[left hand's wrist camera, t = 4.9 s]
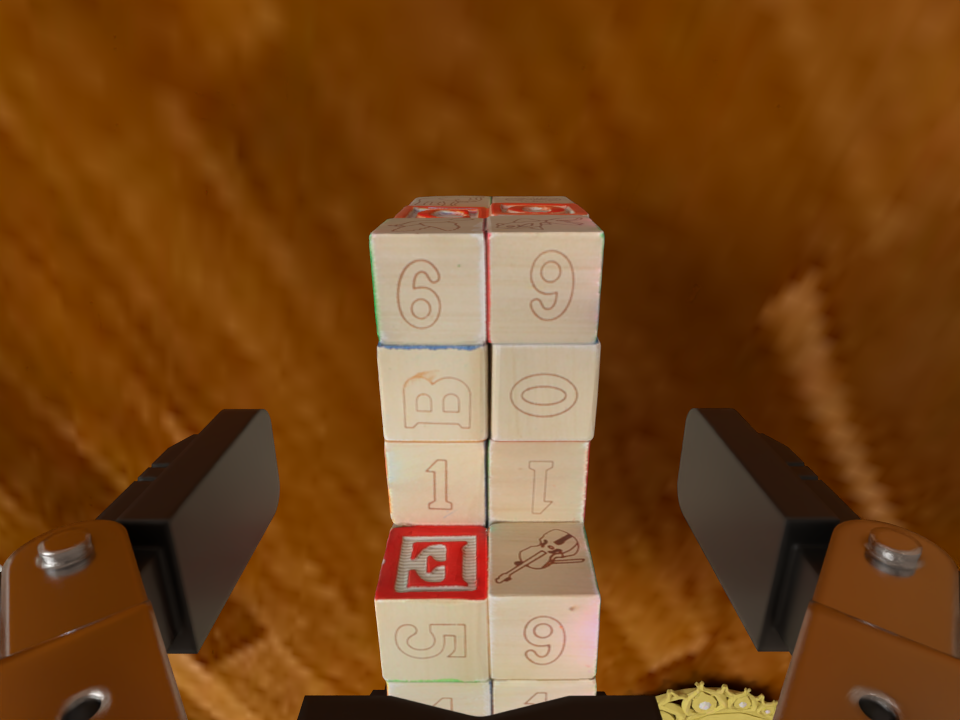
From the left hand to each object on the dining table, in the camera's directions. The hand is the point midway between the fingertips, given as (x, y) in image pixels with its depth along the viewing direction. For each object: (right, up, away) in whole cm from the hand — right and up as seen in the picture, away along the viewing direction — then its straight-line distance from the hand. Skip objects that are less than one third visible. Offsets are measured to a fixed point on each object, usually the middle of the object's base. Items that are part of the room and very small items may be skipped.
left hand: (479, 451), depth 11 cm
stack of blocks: (0, -1, +16) cm, 16 cm away
